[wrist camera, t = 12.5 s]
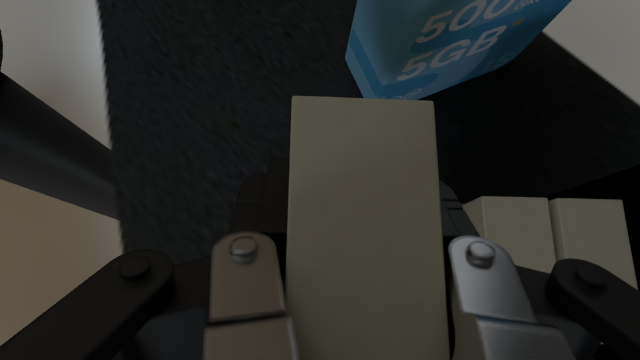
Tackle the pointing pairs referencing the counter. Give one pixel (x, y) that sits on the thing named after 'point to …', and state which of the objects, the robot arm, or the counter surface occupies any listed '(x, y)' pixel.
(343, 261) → the beige block
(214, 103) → the counter surface
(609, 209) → the rack
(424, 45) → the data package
